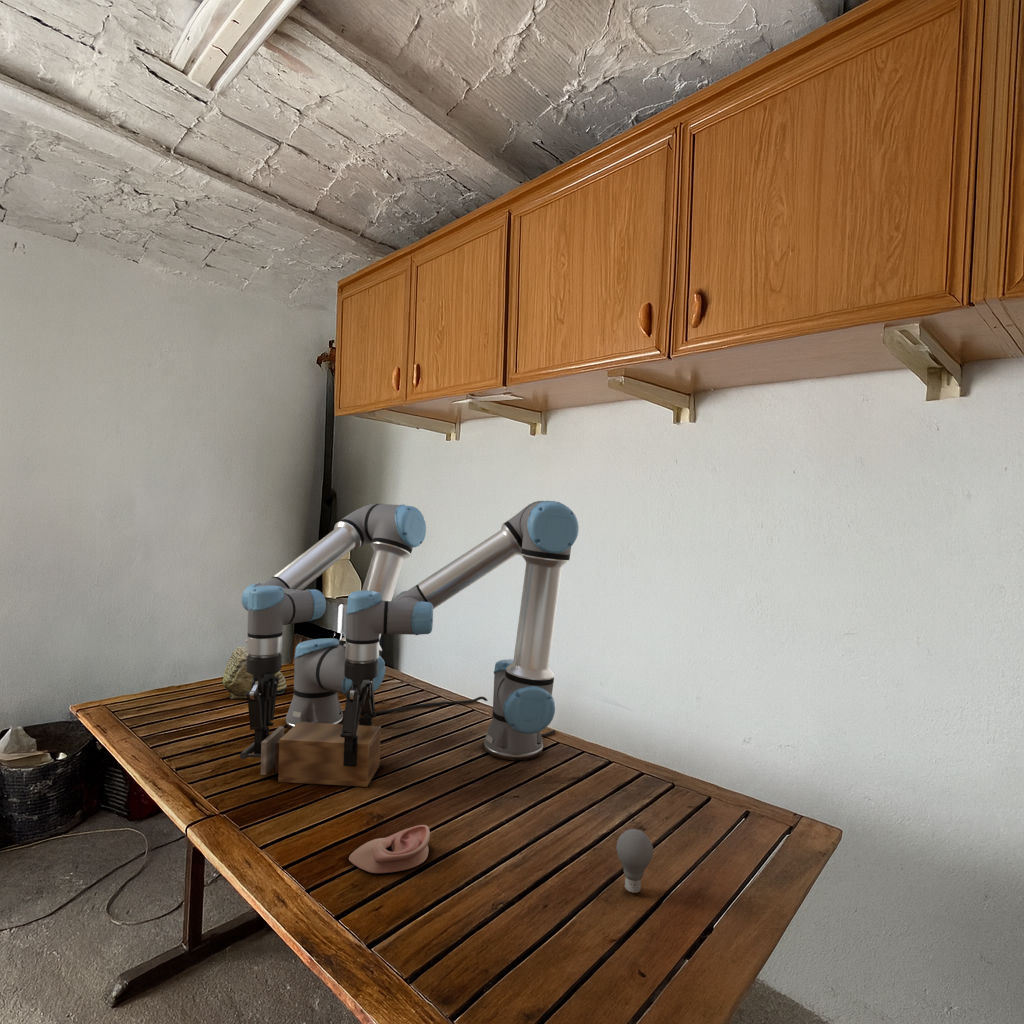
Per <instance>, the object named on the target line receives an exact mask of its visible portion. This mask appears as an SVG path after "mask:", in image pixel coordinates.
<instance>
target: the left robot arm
mask: <svg viewBox="0 0 1024 1024" xmlns="http://www.w3.org/2000/svg"><path fill="white" fill-rule="evenodd" d="M426 534H427V524H426V520H425V517H424V515H423V513H422V511H421V510H420V509H419V508H417V507H416V506H413V505H406V504H388V503H387V504H386V503H370V504H367V505H364V506H361V507H359V508H357V509H356V510H354V511H352V512H350V513H349V514H347V515H346V516H344V517H343V518H342V519H340V520H339V521H338V522H336V523H335V524H334V527H333V530H331V531H330V532H328V534H326V535H325V536H324V537H323V538H322V539H320V540H318V541H317V542H316V543H315V544H313V545H311V547H309V548H308V549H307V550H306V551H304V552H302V553H301V554H300V555H298V557H296V558H295V559H294V560H292V561H291V562H290V563H289V564H287V565H286V566H284V567H283V568H282V569H281V570H279V571H278V572H277V573H275V574H274V575H273V576H271V577H270V578H268V579H267V580H265V582H263V583H260V582H259V583H252V584H249V585H247V586H246V588H245V589H243V592H242V595H241V604H242V607H243V608H244V609H245V611H247V638H245V643H246V647H247V653H248V654H249V655H248V656H247V660H246V671H247V672H248V673H250V674H252V675H253V680H252V685H251V687H252V690H251V691H247V693H246V697H247V698H246V700H247V707H248V709H247V710H248V717H249V718H248V721H249V730H251V731H254V739H253V740H254V741H253V742H254V752H253V754H261V742H262V741H263V740H265V739H266V738H267V737H268V736H269V735H270V727H273V726H274V725H275V723H274V722H273V721H274V718H275V711H276V710H275V709H276V702H277V695H278V694H277V687H278V683H279V677H275V673H276V672H278V671H280V672H281V669H282V660H283V659H282V658H283V655H282V654H281V653H282V652H283V631H284V626H287V625H293V624H299V623H305V622H312V621H315V620H318V619H320V618H322V617H323V615H324V614H325V612H326V609H327V604H326V603H327V601H326V598H325V596H324V594H323V592H321V591H320V590H318V589H309V588H306V587H308V586H309V585H310V584H311V583H312V582H314V581H315V580H316V579H317V578H319V577H320V576H321V575H322V574H324V573H325V572H326V571H328V569H330V568H331V567H333V565H334V564H336V563H337V562H339V561H340V560H341V559H342V558H343V557H344V556H346V555H347V554H348V553H350V552H351V551H357V550H359V549H360V548H361V547H362V546H364V545H367V544H370V547H371V548H372V550H373V554H372V557H371V561H370V564H369V567H368V570H367V573H366V576H365V580H364V582H363V585H362V589H361V591H376V592H379V593H380V594H381V598H382V600H383V601H393V597H394V593H395V590H396V587H397V583H398V580H399V577H400V574H401V570H402V566H403V563H404V560H406V559H408V558H410V557H411V555H412V551H413V548H417V547H420V546H421V545H422V544H423V543H424V540H425V538H426ZM305 588H306V589H305ZM304 589H305V590H304ZM381 637H382V634H380V636H379V641H381ZM344 644H346V635H345V636H344V637H342V638H340V640H339V639H338V638H335V637H333V638H332V637H329V638H315V639H308V640H304V641H302V642H299V643H298V644H297V645H296V646H295V652H294V653H295V654H294V656H293V659H294V661H293V662H294V663H293V665H294V667H293V695H292V696H293V697H292V699H291V702H290V704H289V708H288V711H287V713H286V715H285V726H286V728H287V729H288V730H290V729H292V728H293V727H294V726H295V725H296V724H297V723H298V722H306V723H326V724H343V720H344V713H345V711H343V709H342V706H341V702H340V699H339V695H338V694H341V695H345V696H346V692H347V690H350V686H352V680H350V679H347V678H346V677H345V676H344V666H345V661H346V660H347V659H346V658H345V650H346V648H344V647H343V645H344ZM382 653H383V648H382V646H381V645H380V644H379V658H378V659H377V660H378V675H377V677H376V678H374V681H373V686H374V693H375V692H376V691H377V690H378V689H379V688H380V686H381V685H382V683H383V681H384V679H385V675H386V666H385V664H386V662H385V659H383V657H382ZM480 700H483V701H484V702H488V700H489V699H487V698H486V697H485V696H478V697H476V698H473V699H467V700H452V701H437V702H429V703H419V704H413V705H408V706H407V705H406V706H402V707H396V708H389V709H383V710H378V711H377V710H375V712H376V715H381V714H382V715H383V714H389V713H394V712H401V711H406V710H411V709H412V710H413V709H418V708H425V707H433V706H444V705H445V706H446V705H460V704H462V705H463V704H472V703H475V702H478V701H480ZM360 716H362V715H361V713H360Z"/></svg>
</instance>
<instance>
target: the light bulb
mask: <svg viewBox="0 0 1024 1024" xmlns="http://www.w3.org/2000/svg"><path fill="white" fill-rule="evenodd" d="M615 849H616V854H617V857H618V859H619V861H620V863H621V865H622V867H623V873H624V874H623V875H624V876H625V878H624V888H625V890H627V891H628V892H630V893H634V894H635V893H639V892H640V891H641V889H642V887H641V886H642V879H643V877H644V875H645V871H646V868H647V867H648V866H649V864H650V863H651V861H652V859H653V855H654V847H653V843H652V841H651V838H649V836H648V835H647V834H646V833H645V832H643V831H642V830H641V829H636V828H629V829H627V830H625V831H623V832H622V833H621V834H620V835H619V837H618V839H617V841H616V847H615Z"/></svg>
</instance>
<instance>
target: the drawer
mask: <svg viewBox="0 0 1024 1024" xmlns="http://www.w3.org/2000/svg"><path fill="white" fill-rule="evenodd" d="M284 735H285V726H278V727H277V728H276V729H275V730H273V731H272V733H269V736H268V737H267V738H266V739H265V740H263V741H262V742H261V754H254V741H253V742H252V743H251V744H250V745H249V746H248V747H246V748H245V749H244V750H243V751H241V752H240V754H239V759H241V760H244V761H245V760H246V759H248V758H259V759H260V776H267V775H268V774H269V772H270V771H271V770H273V769H274V772H275V773H279V740H280V739H281V738H282V737H283V736H284Z"/></svg>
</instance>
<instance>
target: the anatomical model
mask: <svg viewBox="0 0 1024 1024" xmlns="http://www.w3.org/2000/svg"><path fill="white" fill-rule="evenodd" d="M430 838H431V830H430V827H429V826H428V825H427V824H419V825H413V826H411V827H409V828H405V829H403V830H400V831H398V832H396V833H393V834H391V835H389V836H386V837H379V838H375V839H372V840H369V841H367V842H365V843H364V844H362V845H360V846H358V848H356V849H355V850H353V852H352V853H350V855H349V857H348V860H349V862H350V863H351V864H352V865H354V866H356V867H357V868H358V869H361V870H363V871H365V872H367V873H369V874H370V873H371V874H387V873H388V874H389V873H396V872H401V871H405V870H409V869H412V868H415V867H418V866H419V865H421V864H422V863H425V861H426V860H427V859H428V856H429V842H430Z"/></svg>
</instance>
